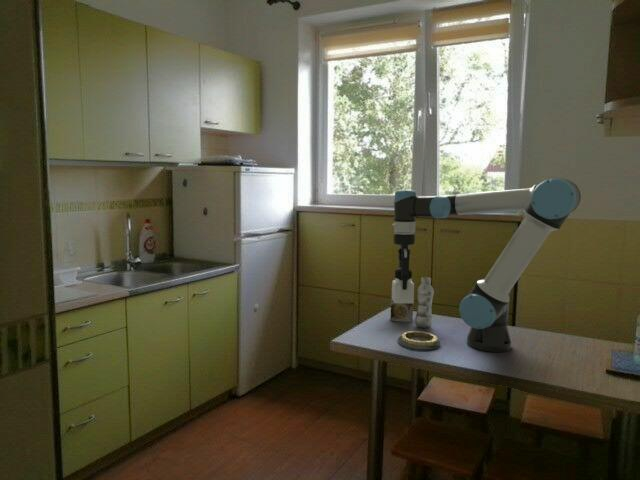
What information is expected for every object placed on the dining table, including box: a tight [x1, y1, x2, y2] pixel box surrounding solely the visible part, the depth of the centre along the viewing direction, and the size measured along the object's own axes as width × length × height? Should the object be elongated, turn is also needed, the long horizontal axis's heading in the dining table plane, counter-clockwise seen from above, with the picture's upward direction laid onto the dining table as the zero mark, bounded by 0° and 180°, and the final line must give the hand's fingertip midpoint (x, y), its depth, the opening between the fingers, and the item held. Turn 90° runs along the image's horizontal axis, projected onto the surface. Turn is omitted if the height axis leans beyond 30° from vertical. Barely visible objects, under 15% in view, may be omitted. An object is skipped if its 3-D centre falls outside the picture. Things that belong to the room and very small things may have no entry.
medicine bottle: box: [391, 267, 416, 304], centre depth 179 cm, size 7×7×12 cm
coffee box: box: [389, 281, 415, 323], centre depth 205 cm, size 9×6×16 cm
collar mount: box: [397, 330, 441, 352], centre depth 177 cm, size 15×15×2 cm
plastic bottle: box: [414, 276, 435, 329], centre depth 195 cm, size 6×7×20 cm
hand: (403, 295), depth 179 cm, fingers closed on medicine bottle, 7 cm apart
